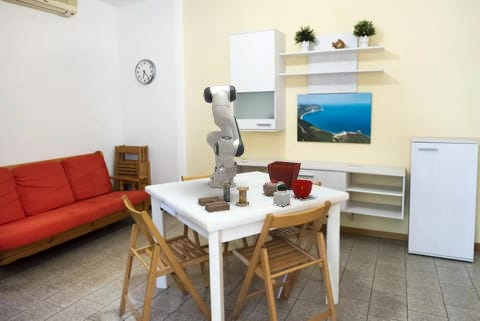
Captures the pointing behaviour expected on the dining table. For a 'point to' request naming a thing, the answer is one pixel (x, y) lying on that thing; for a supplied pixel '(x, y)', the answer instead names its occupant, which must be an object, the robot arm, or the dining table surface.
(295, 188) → the ceramic cup
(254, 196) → the dining table surface
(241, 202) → the tan spool
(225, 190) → the gold lidded spice jar
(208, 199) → the notch board
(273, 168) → the plant pot
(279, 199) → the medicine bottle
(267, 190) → the food item
